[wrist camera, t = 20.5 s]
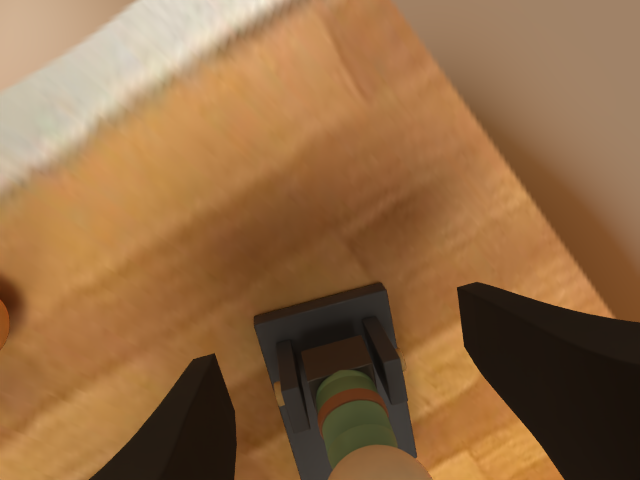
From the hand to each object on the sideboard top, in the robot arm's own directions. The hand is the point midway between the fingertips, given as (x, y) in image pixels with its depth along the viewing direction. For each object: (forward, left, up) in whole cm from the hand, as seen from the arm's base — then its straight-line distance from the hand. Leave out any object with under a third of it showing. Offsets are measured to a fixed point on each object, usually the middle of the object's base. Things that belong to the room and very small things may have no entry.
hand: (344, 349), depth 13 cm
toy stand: (-9, -2, -10) cm, 14 cm away
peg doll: (-6, -1, -8) cm, 10 cm away
